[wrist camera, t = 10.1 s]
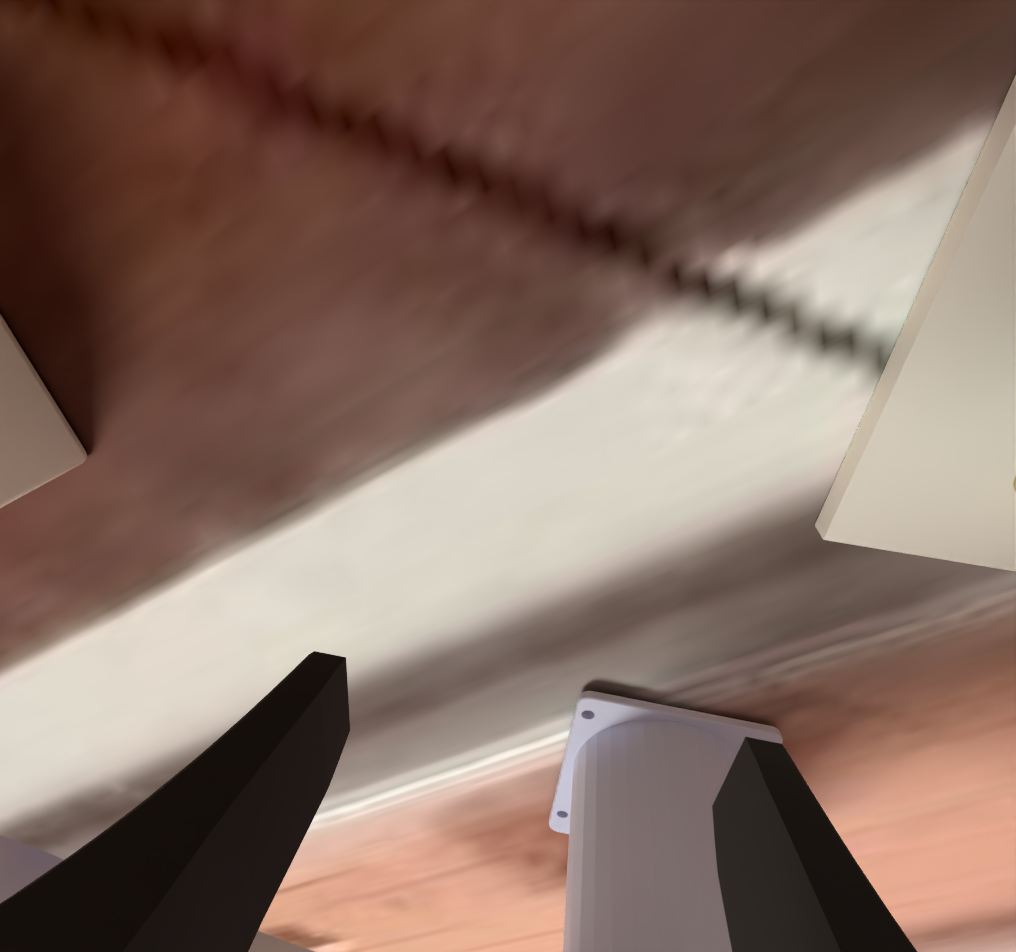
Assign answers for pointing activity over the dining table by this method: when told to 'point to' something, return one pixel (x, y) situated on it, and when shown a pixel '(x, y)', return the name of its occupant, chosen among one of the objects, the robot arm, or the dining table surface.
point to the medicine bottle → (30, 426)
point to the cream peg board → (947, 394)
